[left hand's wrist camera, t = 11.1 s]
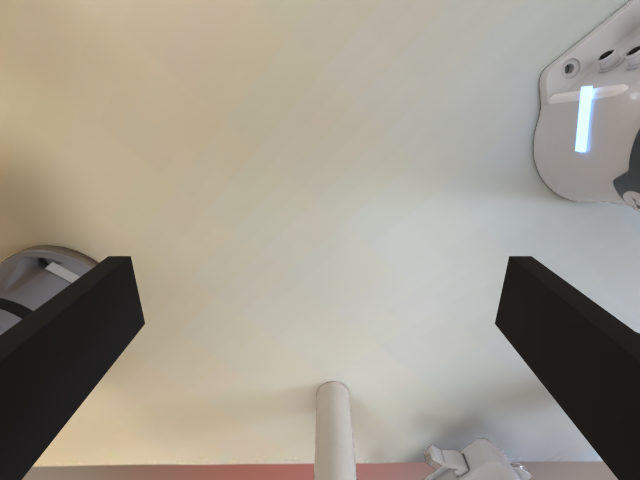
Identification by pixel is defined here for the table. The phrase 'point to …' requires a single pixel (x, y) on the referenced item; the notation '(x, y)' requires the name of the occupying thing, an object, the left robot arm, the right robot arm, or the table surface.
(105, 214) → the table surface
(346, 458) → the white cylinder
